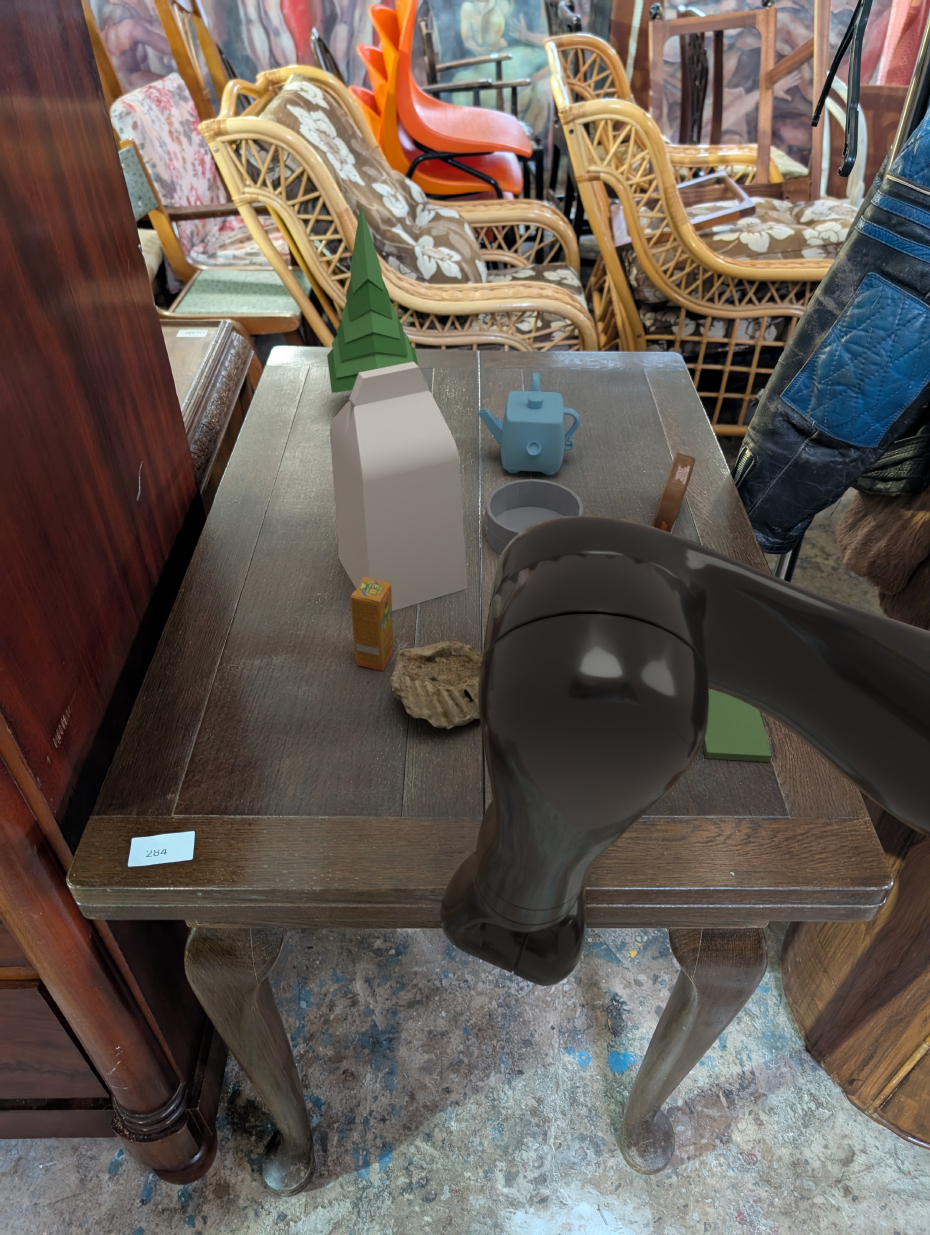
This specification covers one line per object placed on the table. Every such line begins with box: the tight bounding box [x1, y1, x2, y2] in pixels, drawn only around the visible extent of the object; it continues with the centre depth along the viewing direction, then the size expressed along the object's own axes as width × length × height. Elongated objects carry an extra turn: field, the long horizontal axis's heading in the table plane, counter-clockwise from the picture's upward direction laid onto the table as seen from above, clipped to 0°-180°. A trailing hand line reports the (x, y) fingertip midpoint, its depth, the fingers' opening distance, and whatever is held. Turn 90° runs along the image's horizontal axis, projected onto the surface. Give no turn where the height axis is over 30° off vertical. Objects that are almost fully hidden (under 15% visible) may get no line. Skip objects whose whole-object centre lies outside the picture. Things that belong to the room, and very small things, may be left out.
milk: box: [329, 362, 469, 612], centre depth 87 cm, size 12×12×26 cm
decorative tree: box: [326, 204, 419, 394], centre depth 115 cm, size 14×16×30 cm
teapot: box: [477, 371, 581, 476], centre depth 111 cm, size 18×14×10 cm
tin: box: [651, 451, 696, 534], centre depth 100 cm, size 15×3×8 cm, turn 159°
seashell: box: [389, 640, 482, 730], centre depth 79 cm, size 11×7×10 cm
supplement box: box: [350, 577, 394, 672], centre depth 82 cm, size 3×3×10 cm
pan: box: [484, 478, 585, 556], centre depth 100 cm, size 12×12×4 cm
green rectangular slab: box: [702, 689, 772, 763], centre depth 78 cm, size 8×6×1 cm
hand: (625, 620), depth 80 cm, fingers closed
